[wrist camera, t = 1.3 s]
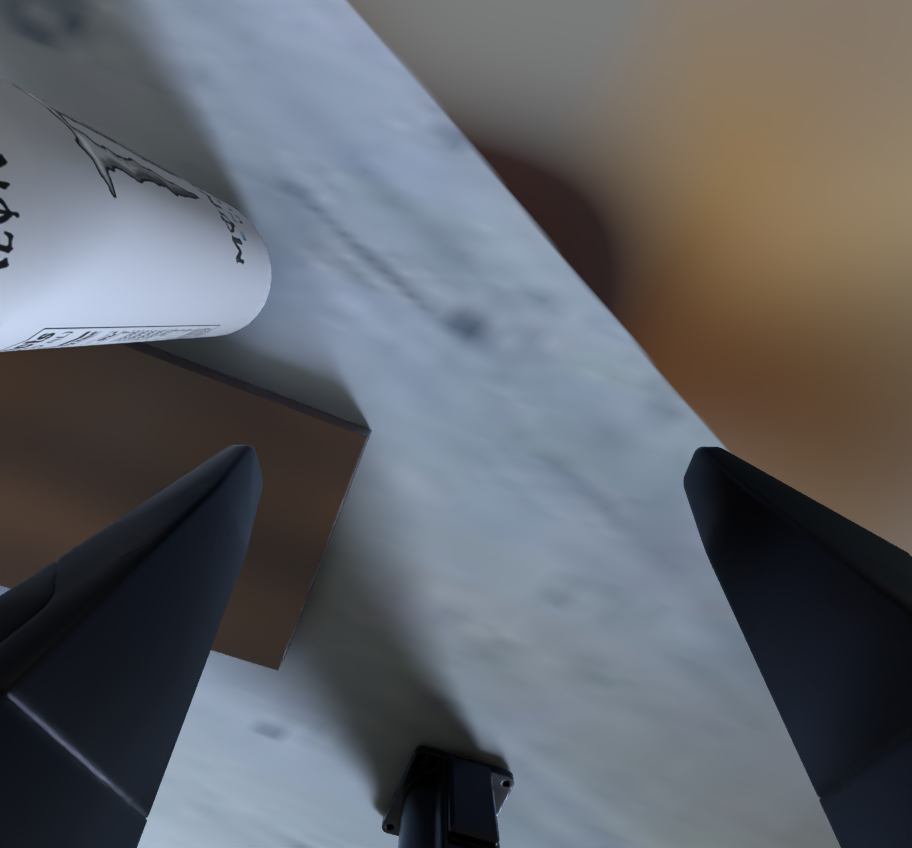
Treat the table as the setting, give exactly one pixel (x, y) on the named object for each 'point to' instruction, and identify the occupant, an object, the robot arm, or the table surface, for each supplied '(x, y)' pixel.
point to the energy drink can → (112, 241)
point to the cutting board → (167, 469)
